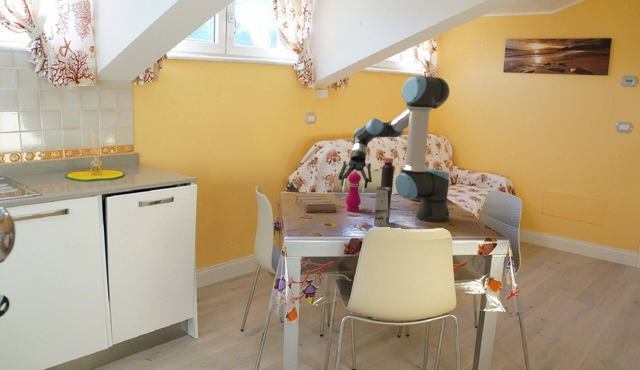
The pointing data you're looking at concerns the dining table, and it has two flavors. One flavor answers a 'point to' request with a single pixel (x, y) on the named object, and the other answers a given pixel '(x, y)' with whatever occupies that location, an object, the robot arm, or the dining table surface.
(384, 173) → the bottle
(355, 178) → the pepper mill
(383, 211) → the coffee box
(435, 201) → the robot arm
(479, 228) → the dining table surface
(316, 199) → the wooden slatted trivet
